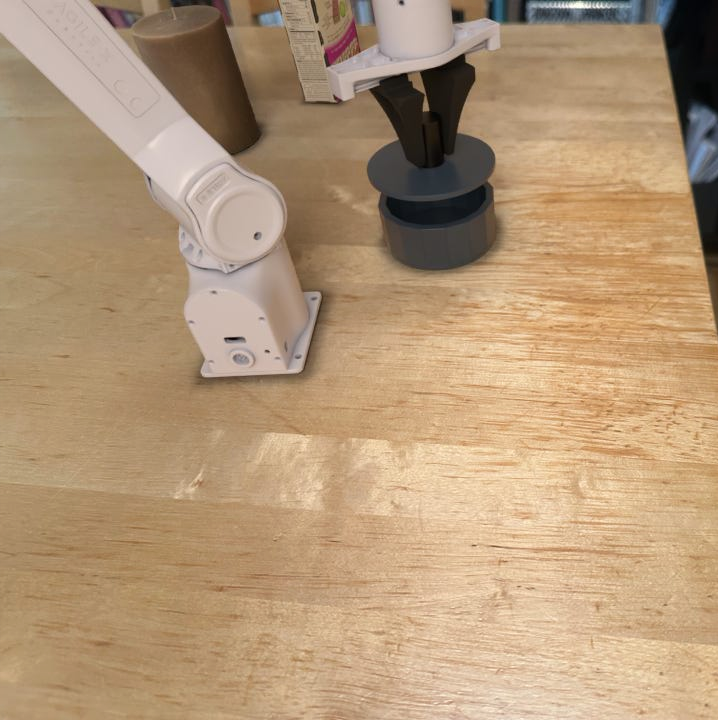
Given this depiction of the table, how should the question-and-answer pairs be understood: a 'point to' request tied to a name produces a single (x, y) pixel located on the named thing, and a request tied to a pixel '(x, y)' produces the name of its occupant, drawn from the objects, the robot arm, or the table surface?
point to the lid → (432, 166)
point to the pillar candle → (199, 70)
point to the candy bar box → (319, 42)
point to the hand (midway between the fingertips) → (430, 156)
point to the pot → (439, 229)
